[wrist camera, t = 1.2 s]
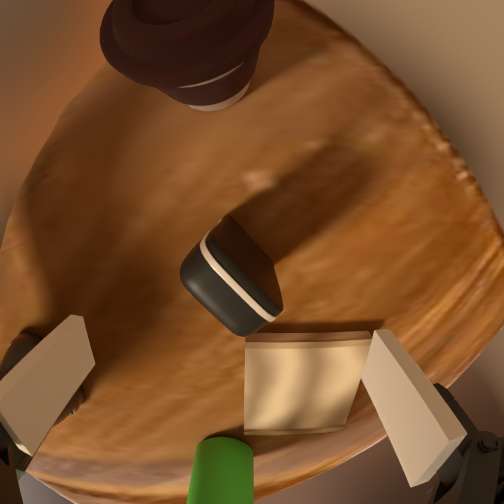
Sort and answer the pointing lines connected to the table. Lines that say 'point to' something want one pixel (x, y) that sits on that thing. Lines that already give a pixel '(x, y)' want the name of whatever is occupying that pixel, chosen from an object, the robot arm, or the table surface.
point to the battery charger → (233, 279)
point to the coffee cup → (188, 46)
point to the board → (302, 381)
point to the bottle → (222, 473)
